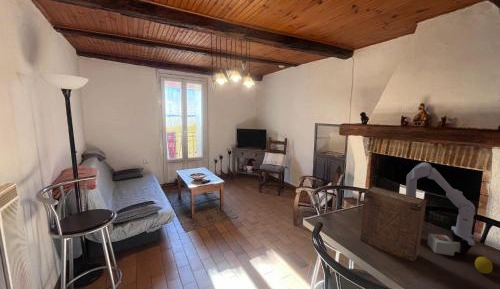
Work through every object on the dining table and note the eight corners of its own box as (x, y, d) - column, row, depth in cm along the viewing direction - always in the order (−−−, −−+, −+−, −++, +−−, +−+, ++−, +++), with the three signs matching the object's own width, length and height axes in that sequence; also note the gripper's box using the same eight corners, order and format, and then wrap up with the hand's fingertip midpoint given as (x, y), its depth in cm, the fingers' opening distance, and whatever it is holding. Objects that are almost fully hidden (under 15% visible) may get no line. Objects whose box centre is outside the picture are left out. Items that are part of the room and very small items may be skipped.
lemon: (469, 269, 102) (472, 253, 101) (480, 268, 103) (483, 252, 102) (483, 278, 97) (486, 261, 96) (494, 277, 97) (498, 261, 96)
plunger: (439, 241, 115) (440, 238, 114) (436, 237, 117) (436, 235, 117) (446, 242, 114) (447, 239, 114) (443, 238, 117) (443, 236, 116)
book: (359, 240, 125) (364, 189, 120) (366, 234, 131) (371, 185, 126) (413, 263, 106) (421, 204, 101) (418, 255, 112) (426, 199, 107)
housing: (435, 253, 114) (436, 241, 113) (427, 243, 121) (428, 233, 120) (453, 255, 112) (455, 244, 111) (444, 246, 119) (446, 235, 118)
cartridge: (436, 251, 115) (437, 242, 114) (431, 245, 120) (432, 237, 119) (466, 255, 111) (468, 246, 111) (460, 249, 116) (461, 240, 115)
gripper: (484, 234, 104) (479, 260, 106) (464, 219, 118) (460, 243, 120) (466, 232, 106) (461, 257, 108) (448, 218, 120) (444, 240, 122)
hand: (459, 249), depth 114 cm, fingers closed on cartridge, 5 cm apart
